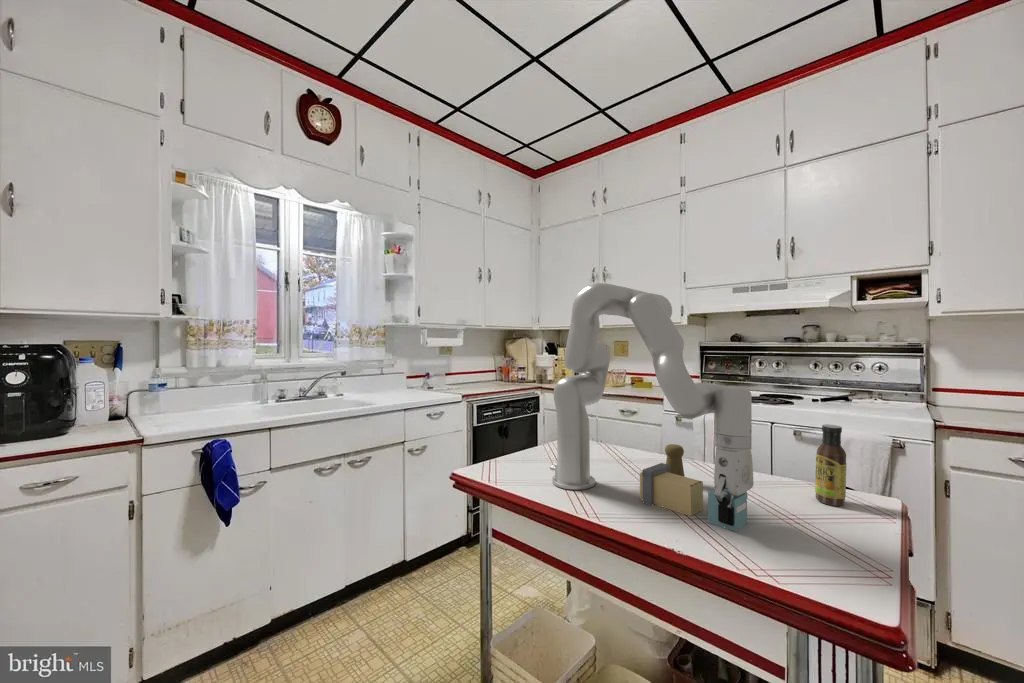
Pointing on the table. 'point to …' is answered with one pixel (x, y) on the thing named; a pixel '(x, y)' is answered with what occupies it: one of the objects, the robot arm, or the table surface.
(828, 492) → the sauce bottle
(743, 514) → the teal box
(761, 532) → the table surface
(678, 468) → the brown knobbed peg
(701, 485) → the tan oblong box
